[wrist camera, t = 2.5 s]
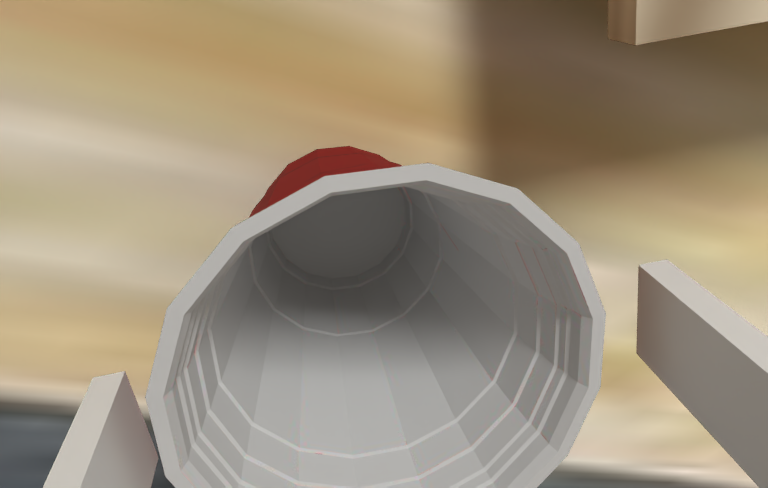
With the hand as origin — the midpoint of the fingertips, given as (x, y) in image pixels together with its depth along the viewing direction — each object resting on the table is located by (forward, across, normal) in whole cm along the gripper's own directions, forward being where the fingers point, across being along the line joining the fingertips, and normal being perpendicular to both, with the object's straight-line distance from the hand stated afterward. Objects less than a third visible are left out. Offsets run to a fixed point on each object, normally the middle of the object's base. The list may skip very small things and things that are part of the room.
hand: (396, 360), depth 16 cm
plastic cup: (+10, 0, 0) cm, 10 cm away
